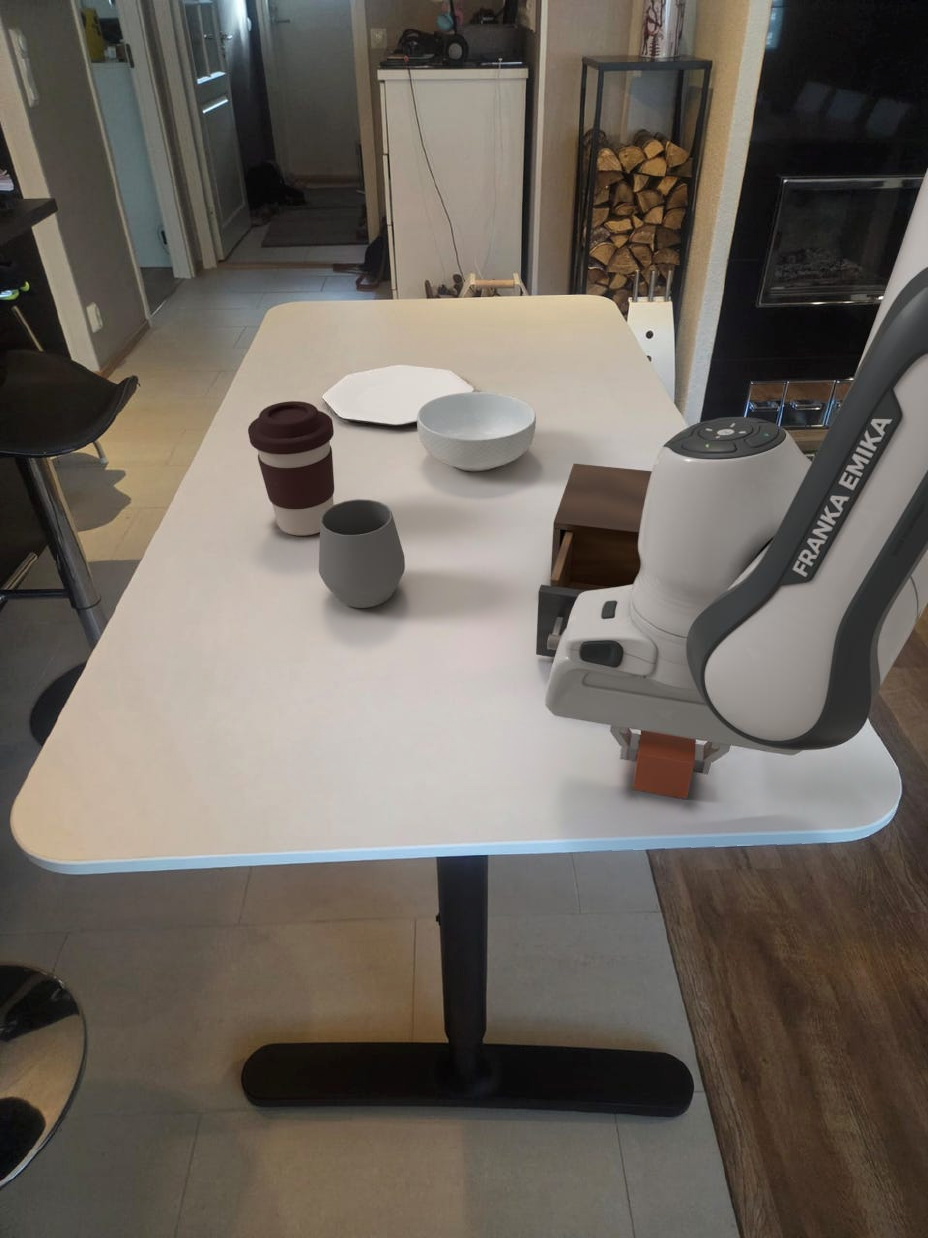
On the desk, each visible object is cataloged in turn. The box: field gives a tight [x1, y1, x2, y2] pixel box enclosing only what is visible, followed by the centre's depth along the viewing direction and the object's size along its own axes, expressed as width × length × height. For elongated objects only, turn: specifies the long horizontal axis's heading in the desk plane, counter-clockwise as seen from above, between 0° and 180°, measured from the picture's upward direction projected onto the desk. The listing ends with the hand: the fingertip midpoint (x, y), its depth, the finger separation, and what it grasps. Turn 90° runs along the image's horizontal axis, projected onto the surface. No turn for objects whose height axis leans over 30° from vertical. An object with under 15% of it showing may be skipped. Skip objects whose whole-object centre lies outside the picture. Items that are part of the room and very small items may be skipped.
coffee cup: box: [247, 400, 335, 536], centre depth 98 cm, size 10×10×15 cm
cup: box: [318, 498, 406, 609], centre depth 87 cm, size 10×9×10 cm
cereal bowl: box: [416, 391, 537, 472], centre depth 114 cm, size 17×17×7 cm
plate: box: [321, 364, 475, 427], centre depth 133 cm, size 24×24×2 cm
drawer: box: [535, 530, 641, 658], centre depth 79 cm, size 17×10×8 cm, turn 165°
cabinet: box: [549, 463, 652, 583], centre depth 90 cm, size 14×12×10 cm
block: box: [632, 730, 697, 800], centre depth 67 cm, size 4×4×4 cm
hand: (663, 761), depth 67 cm, fingers closed on block, 4 cm apart
